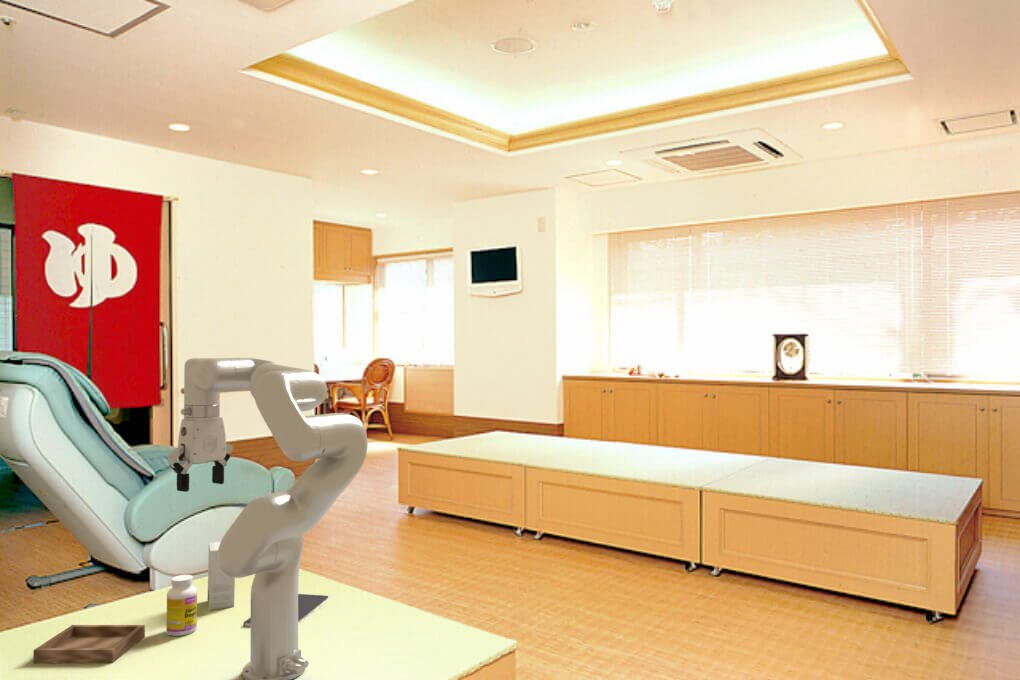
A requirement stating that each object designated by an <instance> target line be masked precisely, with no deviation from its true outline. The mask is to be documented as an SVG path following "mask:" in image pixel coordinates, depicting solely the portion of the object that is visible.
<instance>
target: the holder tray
mask: <svg viewBox="0 0 1020 680" xmlns="http://www.w3.org/2000/svg"><path fill="white" fill-rule="evenodd" d="M145 633H146V625H145V624H72V625H70V626H68V627H67V628H65V629H64V630H62V631H61V632H60V633H58V634H56V635H55V636H53V637H51V638H50V639H49V640H47V641H45V642H44V643H42V644H40V645H39V646H38V647H35V648H34V649H33V653H32V654H33V660H32V661H33V662H64V663H63V664H113V663H114V662H116V661H117V660H118V659H120V658H121V657H122V656H123V655H124V654H125V653H127V652H128V651H129V650H130V649H131V648H133V647H135V645H136V644H138V643H139V642H141V641H142V640H143V639H145V637H146V636H145V635H146V634H145ZM65 662H66V663H65Z"/></svg>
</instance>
